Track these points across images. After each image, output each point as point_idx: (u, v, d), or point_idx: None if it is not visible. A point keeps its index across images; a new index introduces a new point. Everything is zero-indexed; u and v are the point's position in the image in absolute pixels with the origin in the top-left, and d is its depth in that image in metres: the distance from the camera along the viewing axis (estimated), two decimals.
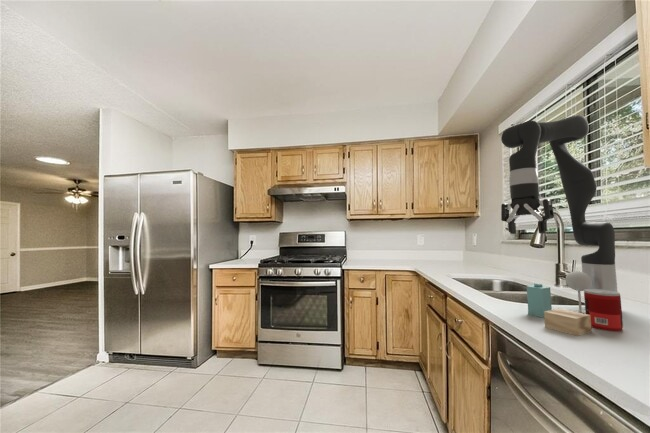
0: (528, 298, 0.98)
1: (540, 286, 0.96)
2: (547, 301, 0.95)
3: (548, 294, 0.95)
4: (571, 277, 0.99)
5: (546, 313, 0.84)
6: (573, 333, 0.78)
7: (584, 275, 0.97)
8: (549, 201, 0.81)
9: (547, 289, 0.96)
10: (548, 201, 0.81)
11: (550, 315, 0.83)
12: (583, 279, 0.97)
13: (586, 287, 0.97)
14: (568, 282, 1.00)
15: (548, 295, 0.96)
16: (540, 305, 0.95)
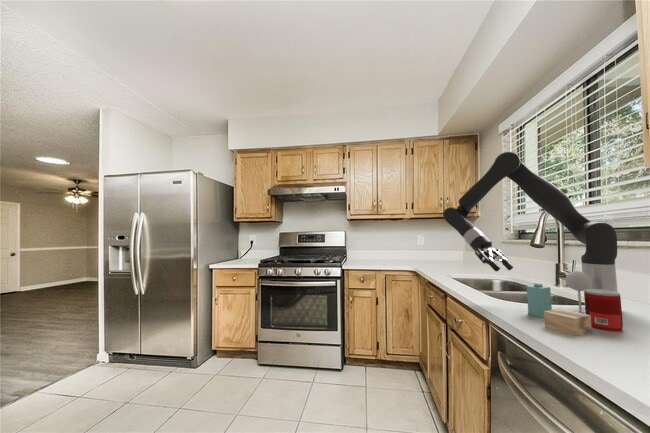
0: (528, 298, 0.98)
1: (540, 286, 0.96)
2: (547, 301, 0.95)
3: (548, 294, 0.95)
4: (571, 277, 0.99)
5: (546, 313, 0.84)
6: (572, 333, 0.78)
7: (584, 275, 0.97)
8: (477, 252, 1.12)
9: (547, 289, 0.96)
10: (476, 253, 1.12)
11: (550, 315, 0.83)
12: (583, 279, 0.97)
13: (586, 287, 0.97)
14: (568, 282, 1.00)
15: (548, 295, 0.96)
16: (540, 305, 0.95)
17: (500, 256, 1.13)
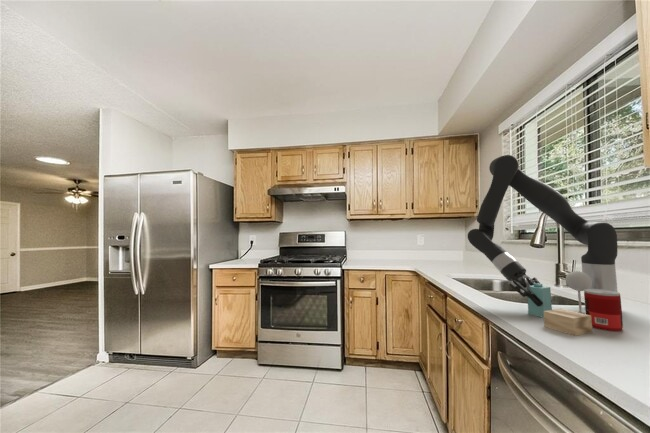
0: (528, 298, 0.98)
1: (540, 286, 0.96)
2: (547, 301, 0.95)
3: (548, 294, 0.95)
4: (571, 277, 0.99)
5: (545, 313, 0.84)
6: (571, 333, 0.78)
7: (584, 275, 0.97)
8: (513, 284, 0.99)
9: (547, 289, 0.95)
10: (512, 285, 0.99)
11: (549, 315, 0.83)
12: (583, 279, 0.97)
13: (586, 287, 0.97)
14: (568, 282, 1.00)
15: (548, 295, 0.95)
16: (541, 305, 0.94)
17: None
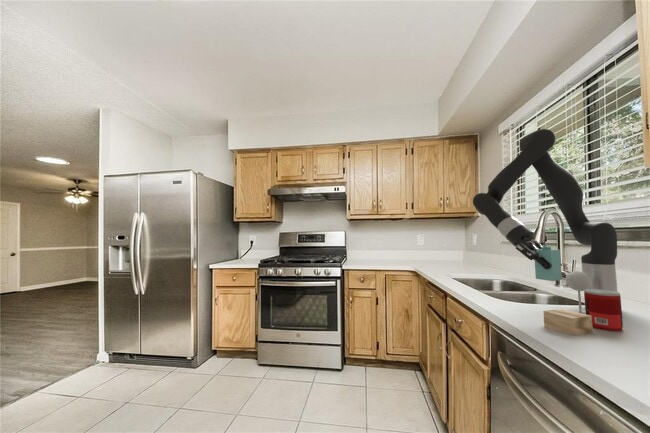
0: (535, 262, 0.92)
1: (549, 248, 0.90)
2: (556, 264, 0.88)
3: (557, 256, 0.89)
4: (571, 277, 0.99)
5: (545, 312, 0.85)
6: (570, 332, 0.78)
7: (584, 275, 0.97)
8: (519, 247, 0.93)
9: (556, 251, 0.89)
10: (518, 248, 0.93)
11: (549, 314, 0.84)
12: (583, 279, 0.97)
13: (586, 287, 0.97)
14: (568, 282, 1.00)
15: (557, 258, 0.89)
16: None
17: None
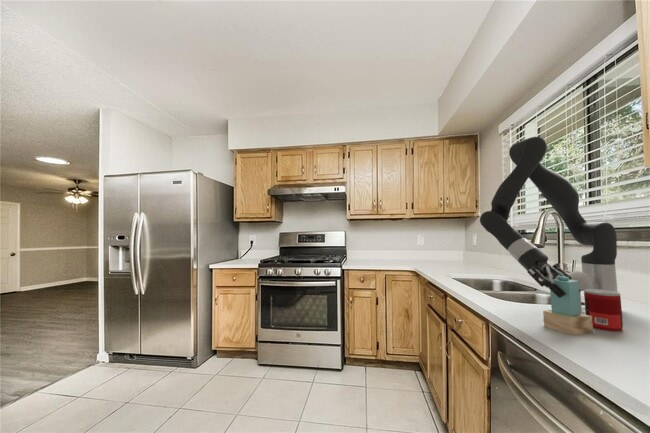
0: (551, 294, 0.84)
1: (566, 279, 0.82)
2: (575, 297, 0.81)
3: (575, 289, 0.81)
4: (571, 277, 0.99)
5: (545, 312, 0.85)
6: (568, 332, 0.78)
7: (584, 275, 0.97)
8: (530, 270, 0.86)
9: (575, 283, 0.81)
10: (529, 272, 0.86)
11: (548, 314, 0.84)
12: (583, 279, 0.97)
13: (586, 287, 0.97)
14: None
15: (576, 290, 0.81)
16: (567, 302, 0.80)
17: None
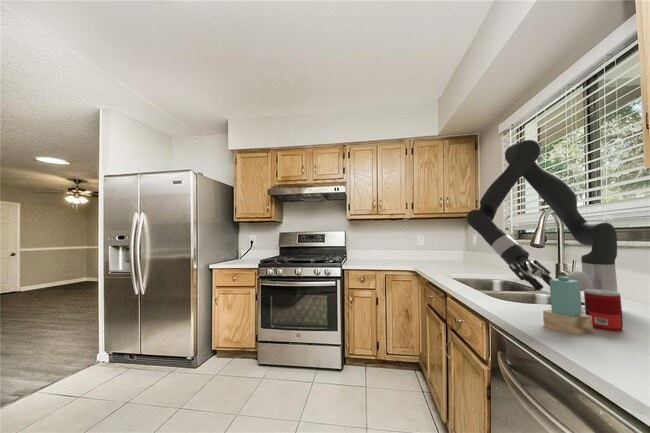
0: (551, 294, 0.84)
1: (566, 280, 0.82)
2: (575, 297, 0.81)
3: (575, 289, 0.81)
4: (571, 277, 0.99)
5: (544, 312, 0.85)
6: (568, 332, 0.78)
7: (584, 275, 0.97)
8: (512, 265, 0.91)
9: (575, 283, 0.81)
10: (510, 267, 0.91)
11: (548, 314, 0.84)
12: (583, 279, 0.97)
13: (586, 287, 0.97)
14: None
15: (576, 290, 0.81)
16: (567, 302, 0.80)
17: (540, 270, 0.92)
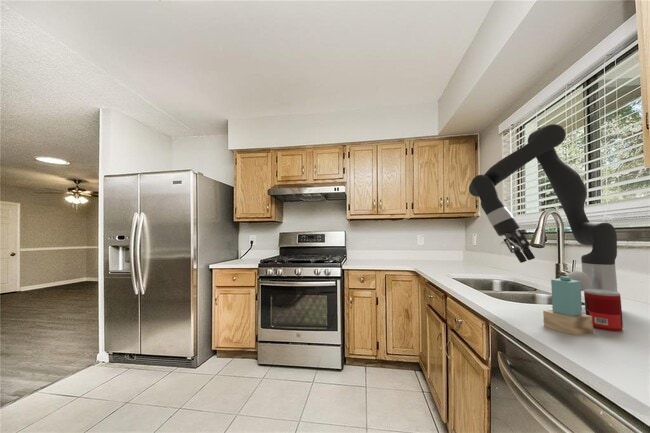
0: (553, 293, 0.84)
1: (568, 280, 0.82)
2: (576, 297, 0.81)
3: (577, 289, 0.81)
4: (571, 277, 0.99)
5: (545, 312, 0.85)
6: (568, 332, 0.78)
7: (584, 275, 0.97)
8: (517, 233, 0.95)
9: (577, 283, 0.81)
10: (516, 233, 0.95)
11: (548, 314, 0.84)
12: (583, 279, 0.97)
13: (586, 287, 0.97)
14: None
15: (578, 290, 0.81)
16: (568, 302, 0.80)
17: None
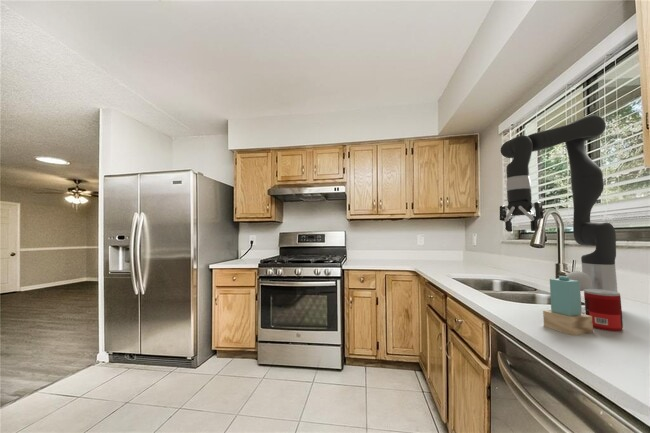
0: (551, 293, 0.85)
1: (566, 279, 0.82)
2: (575, 297, 0.81)
3: (575, 289, 0.81)
4: (571, 277, 0.99)
5: (544, 312, 0.85)
6: (567, 332, 0.78)
7: (584, 275, 0.97)
8: (539, 204, 0.97)
9: (575, 283, 0.81)
10: (539, 204, 0.96)
11: (548, 314, 0.84)
12: (583, 279, 0.97)
13: (586, 287, 0.97)
14: None
15: (576, 290, 0.81)
16: (566, 301, 0.81)
17: (514, 216, 1.06)
